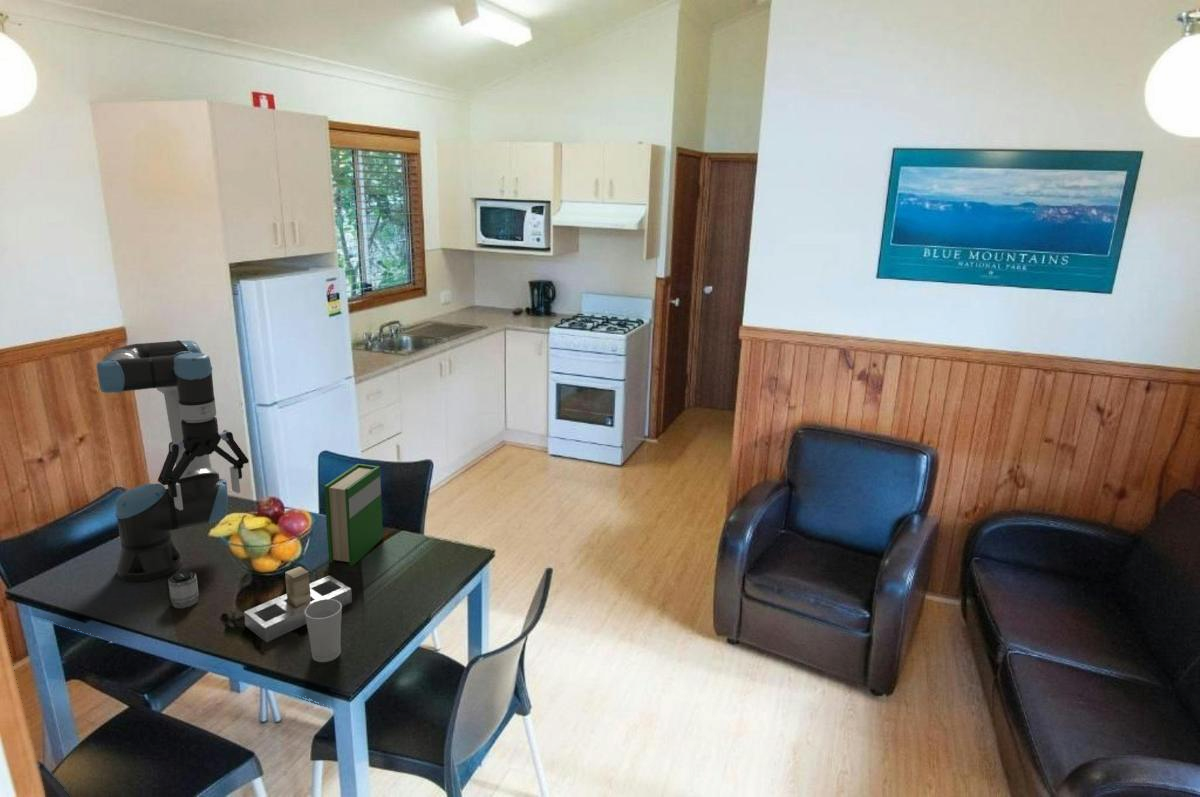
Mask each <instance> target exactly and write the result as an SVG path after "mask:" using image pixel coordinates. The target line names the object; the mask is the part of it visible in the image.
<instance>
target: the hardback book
mask: <svg viewBox="0 0 1200 797" xmlns="http://www.w3.org/2000/svg"><path fill="white" fill-rule="evenodd" d="M381 485H382V484H381V466H379V465H371V464H364V463H363V464H362V463H356V464H354V465H353V466H352V467H350V468H349V469H347V470H345V471H344V472H342V473H341V474H340V475H338V476H337V477H335V478H334V479H332V480H331V481H329V482H328V483H326V484H325V485H323V491H324V492H323V493H324V505H325V507H324V508H325V519H326V534H327V536H326V537H327V553H328V563H329V564H330V563H335V562H334V561H337V562H338V561H340V562H347V563H348V564H349V565H348V566H350V567H353V566H354V565H355V564H357V563H358V562H359V561H360V560H361V559H362V558H363V557H365V555H366V554H368V552H370V551H371V550H372V549H373V548H374V547H375V546H376V545H377V544H378V543H380V542H381V540H383V538H384V536H383V535H384V531H383V529H384V528H383V527H384V526H383V511H382V510H383V507H382V486H381Z"/></svg>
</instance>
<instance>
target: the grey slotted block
mask: <svg viewBox="0 0 1200 797" xmlns="http://www.w3.org/2000/svg"><path fill="white" fill-rule="evenodd" d="M310 595H311V602H309V603H306V604H304V605H302V606H300V607H298V608H293V607H292V606H290V605H289V604H288V601H287V593H285V594H282V595H280V596H278V597H275V598H273V599H270V600H268V601H266V602H263V603H260V604H258V605H257V606H254V607H251V608H249V609H247V610H245V611H244V612H243V616H244V624H245V627H246V628H248V629H249V630H250V631H251V632H252V633H254V634H255V635H256V636H257V637H259V638H260V639H261V640H263V641H264V642H265V643H269V642H271V641H272V640H275V639H277V638H280V637H281V636H283V635H286V634H288V633H290V632H292V631H295V630H296V629H298V628H300V627H302V626H304V625H307V623H306V618H305V609H306V607H307V606H308V605H310V604H311V603H313V602H315V601H318V600H323V599H333V600H337V601H339V602H340V603H341V604H342V608H343V607H345V606H347V605H349V604H352V602H353V599H352V588H351V587H349V586H347V585H346V584H345V583H342V582H341V581H339V580H337V579H336V578H335V577H333V576H332V575H327V576H324V577H322V578H319V579H317V580H315V581H312V582H310Z"/></svg>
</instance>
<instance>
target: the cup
mask: <svg viewBox="0 0 1200 797" xmlns="http://www.w3.org/2000/svg"><path fill="white" fill-rule="evenodd" d="M342 610H343V607H342V604H341V603H340V602H339V601H337V600H333V599H323V600H318V601H315V602H313V603H311V604H310V605H308V606H307V607H306V609H305V618H306V623H307V624H306V627H307V628H306V629H307V633H308V640H309V643H310V651H311V658H312V660H313V661H314V662H318V663H327V662H328V663H329V662H331V661H334V660H336V659H337V658H338V657H340V655H341V653H342V649H341V648H342V647H341V639H342V638H341V636H342V633H341V632H342V630H341V628H342V614H343V613H342V612H343V611H342Z"/></svg>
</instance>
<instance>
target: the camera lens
mask: <svg viewBox="0 0 1200 797" xmlns="http://www.w3.org/2000/svg"><path fill="white" fill-rule="evenodd" d="M167 583H168V589H169V599H170V601H171V602H170V603H171V605H172V607H174V608H175V609H185V608H186V607H187V608H190V607H193V606H194V605H195V604H197V602H198V600H199V587H198V578H197V573H196V572H194V571H189V570H184V571H178V572H176V573H174V574H172V575H171V576H170V577H169V578H168V580H167ZM187 608H186V609H187Z"/></svg>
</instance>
